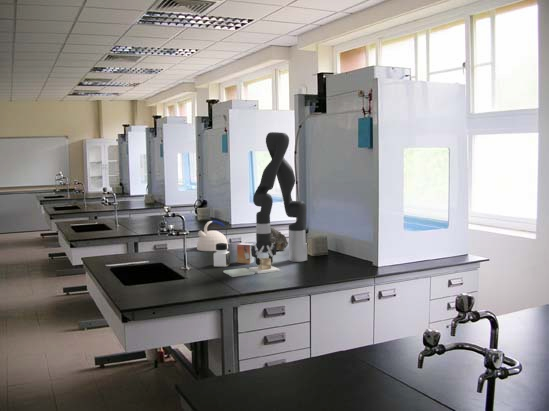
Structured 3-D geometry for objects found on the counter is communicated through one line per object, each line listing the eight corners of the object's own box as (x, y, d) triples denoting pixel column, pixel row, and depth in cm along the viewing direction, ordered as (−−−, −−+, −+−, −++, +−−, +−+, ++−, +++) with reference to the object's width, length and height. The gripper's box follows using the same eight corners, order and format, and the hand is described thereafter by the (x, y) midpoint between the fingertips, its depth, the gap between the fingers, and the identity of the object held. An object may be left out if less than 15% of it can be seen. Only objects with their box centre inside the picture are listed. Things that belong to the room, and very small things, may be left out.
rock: (270, 224, 334) (267, 217, 348) (254, 242, 336) (251, 234, 350) (292, 243, 339) (288, 235, 353) (276, 260, 341) (273, 252, 355)
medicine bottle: (226, 266, 296) (225, 244, 295) (213, 266, 298) (213, 244, 297) (230, 264, 303) (229, 242, 302) (217, 263, 305) (217, 242, 304)
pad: (269, 267, 293) (269, 265, 293) (279, 271, 282) (279, 269, 282) (248, 269, 288) (248, 267, 288) (258, 273, 277) (258, 271, 277)
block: (266, 266, 288) (266, 257, 288) (270, 268, 284) (270, 259, 283) (258, 268, 286) (257, 258, 286) (262, 269, 282) (261, 260, 281)
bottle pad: (245, 269, 287) (245, 268, 287) (254, 274, 276) (254, 272, 276) (223, 272, 282) (223, 270, 282) (232, 276, 271) (232, 274, 271)
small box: (237, 263, 305) (236, 244, 305) (241, 261, 311) (240, 242, 310) (250, 264, 302) (249, 244, 302) (254, 262, 308) (254, 243, 307)
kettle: (189, 249, 356) (189, 221, 354) (216, 245, 370) (215, 218, 368) (208, 252, 341) (207, 223, 339) (235, 248, 355) (234, 220, 353)
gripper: (272, 230, 290) (273, 261, 291) (247, 232, 283) (248, 264, 285) (279, 231, 283) (279, 264, 285) (253, 234, 277) (254, 267, 278)
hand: (264, 264), depth 285 cm, fingers open, 6 cm apart
